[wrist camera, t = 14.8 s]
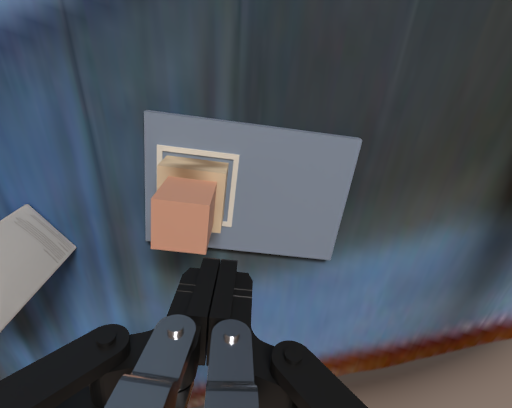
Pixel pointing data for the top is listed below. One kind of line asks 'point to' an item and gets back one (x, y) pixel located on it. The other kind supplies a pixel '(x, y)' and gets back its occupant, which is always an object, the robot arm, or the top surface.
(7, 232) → the skincare box
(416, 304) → the top surface
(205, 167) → the beech base block
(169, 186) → the terracotta block
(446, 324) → the top surface
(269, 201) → the board
